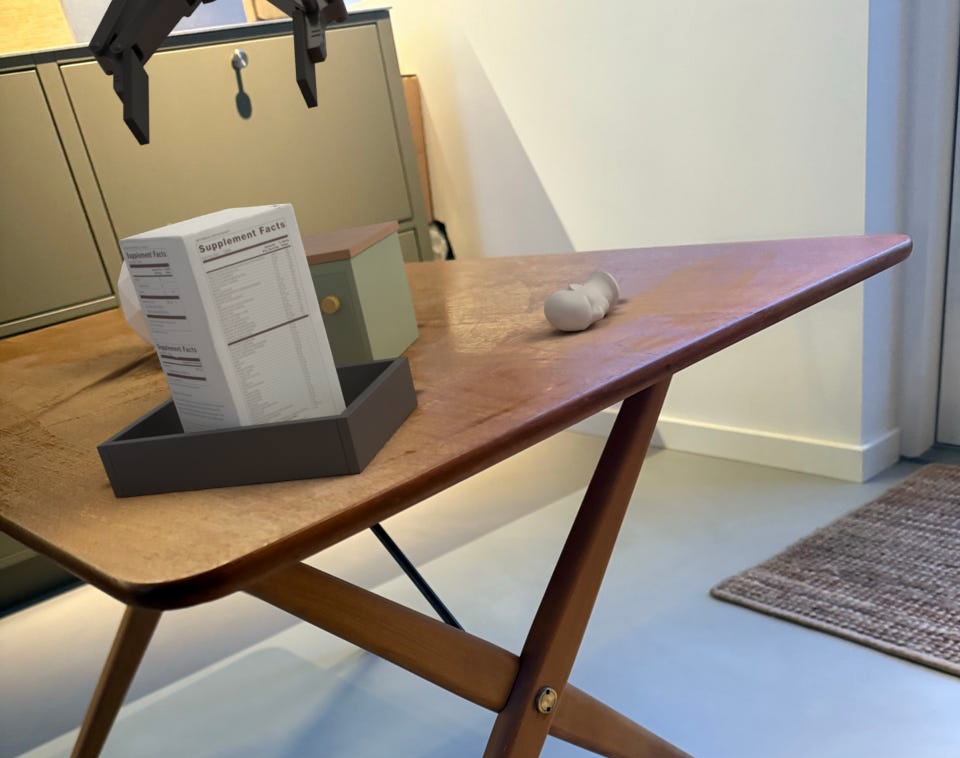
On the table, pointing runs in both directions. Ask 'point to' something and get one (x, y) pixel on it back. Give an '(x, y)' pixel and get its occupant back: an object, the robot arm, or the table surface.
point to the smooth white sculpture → (582, 302)
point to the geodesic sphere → (132, 305)
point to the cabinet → (362, 292)
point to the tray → (263, 439)
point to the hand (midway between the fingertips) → (220, 113)
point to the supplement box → (235, 318)
